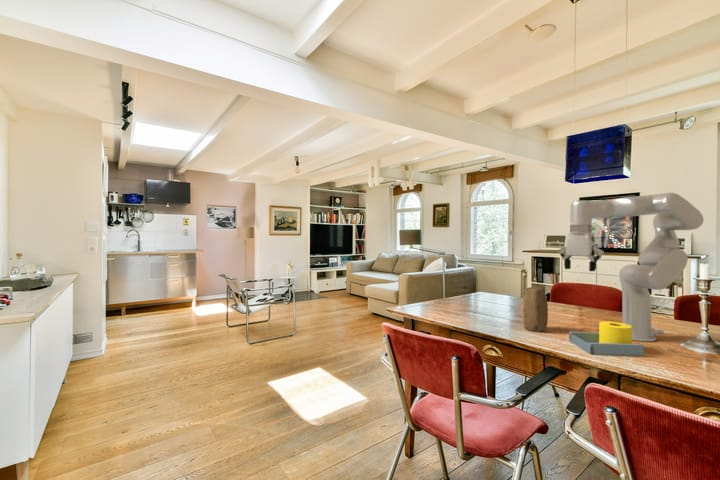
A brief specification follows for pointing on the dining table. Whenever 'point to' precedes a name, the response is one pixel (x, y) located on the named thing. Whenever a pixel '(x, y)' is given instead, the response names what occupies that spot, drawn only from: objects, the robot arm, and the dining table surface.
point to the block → (535, 309)
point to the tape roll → (615, 332)
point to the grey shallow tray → (603, 345)
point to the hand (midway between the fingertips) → (579, 269)
